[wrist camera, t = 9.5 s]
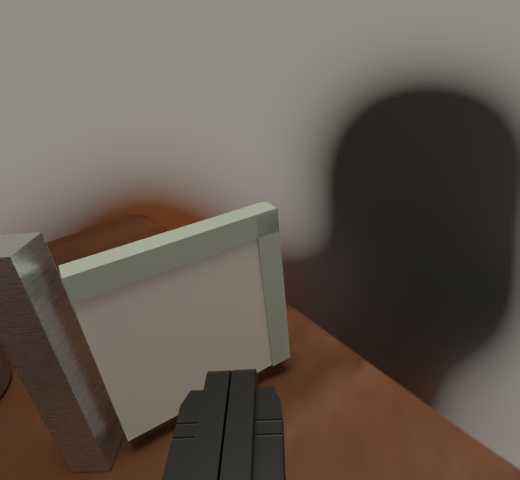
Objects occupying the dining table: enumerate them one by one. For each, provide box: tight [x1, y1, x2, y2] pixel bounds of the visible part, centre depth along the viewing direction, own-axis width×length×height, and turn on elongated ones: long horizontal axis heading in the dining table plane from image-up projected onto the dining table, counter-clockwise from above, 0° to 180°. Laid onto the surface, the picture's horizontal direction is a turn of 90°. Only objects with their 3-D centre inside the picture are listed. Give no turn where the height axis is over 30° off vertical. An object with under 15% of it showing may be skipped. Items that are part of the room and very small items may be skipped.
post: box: [0, 232, 124, 473], centre depth 22 cm, size 3×3×16 cm
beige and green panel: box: [59, 202, 290, 441], centre depth 24 cm, size 13×2×13 cm, turn 121°
